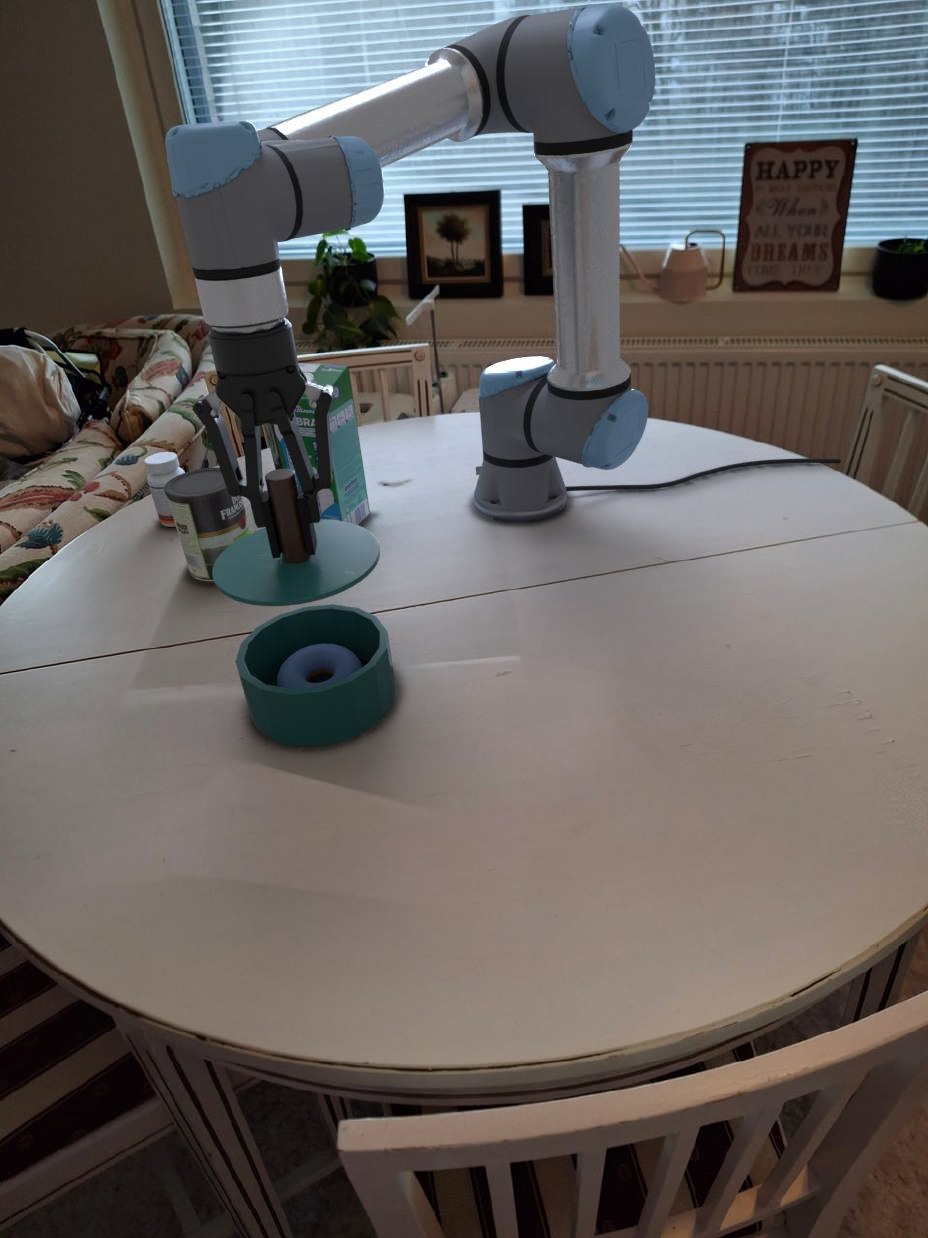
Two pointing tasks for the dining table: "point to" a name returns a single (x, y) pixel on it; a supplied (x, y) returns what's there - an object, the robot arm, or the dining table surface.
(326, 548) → the lid
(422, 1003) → the dining table surface
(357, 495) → the milk carton
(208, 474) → the coffee can
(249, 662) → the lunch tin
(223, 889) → the dining table surface
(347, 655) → the doughnut
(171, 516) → the pill bottle
